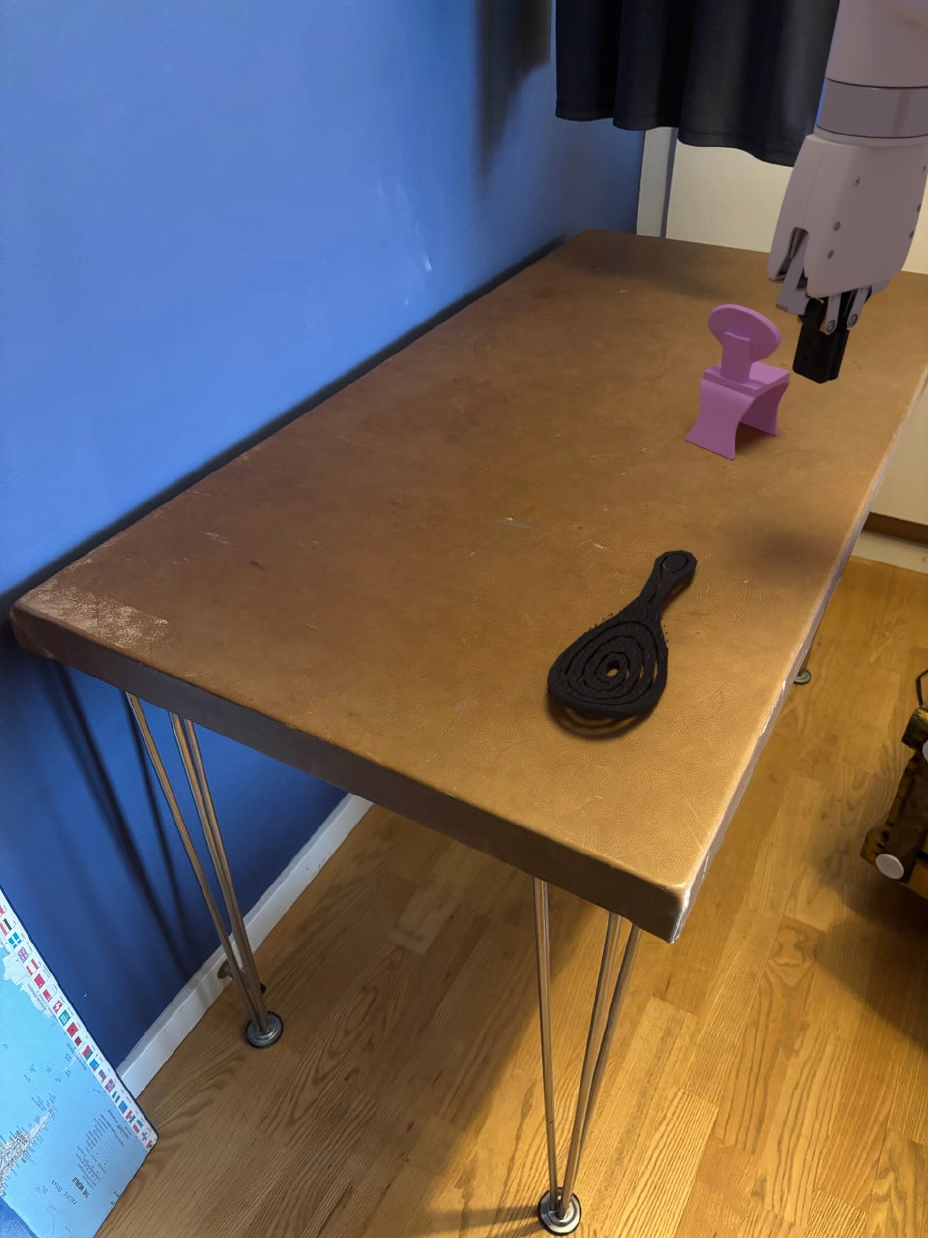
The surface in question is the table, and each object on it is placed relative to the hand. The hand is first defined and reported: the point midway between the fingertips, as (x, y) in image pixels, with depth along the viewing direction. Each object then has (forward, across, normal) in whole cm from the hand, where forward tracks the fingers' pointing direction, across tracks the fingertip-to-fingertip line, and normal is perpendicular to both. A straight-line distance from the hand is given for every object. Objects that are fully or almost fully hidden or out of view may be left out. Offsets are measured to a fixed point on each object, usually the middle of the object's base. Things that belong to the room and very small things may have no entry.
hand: (814, 375), depth 71 cm
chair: (+17, -13, -19) cm, 29 cm away
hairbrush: (+18, +17, +2) cm, 25 cm away
